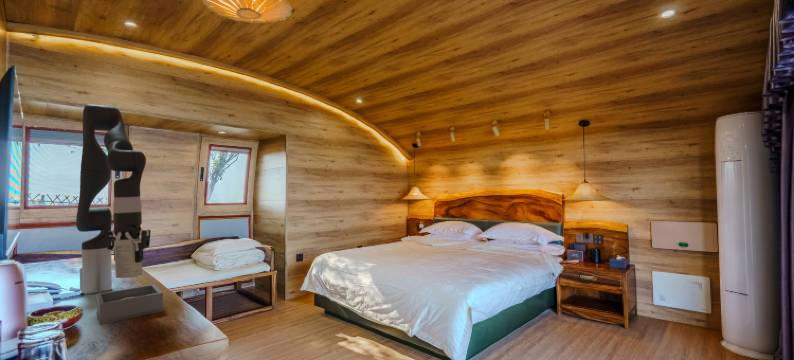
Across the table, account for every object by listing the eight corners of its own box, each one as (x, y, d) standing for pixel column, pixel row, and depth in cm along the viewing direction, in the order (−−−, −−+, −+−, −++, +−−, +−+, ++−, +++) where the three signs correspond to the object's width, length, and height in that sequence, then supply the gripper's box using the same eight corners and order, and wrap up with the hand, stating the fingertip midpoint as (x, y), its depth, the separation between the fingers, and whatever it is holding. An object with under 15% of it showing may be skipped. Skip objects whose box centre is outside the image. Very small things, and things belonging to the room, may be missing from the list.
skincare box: (143, 274, 124) (142, 237, 124) (132, 278, 120) (132, 239, 120) (125, 275, 125) (124, 238, 125) (114, 278, 120) (113, 240, 121)
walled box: (99, 324, 111) (99, 304, 111) (97, 312, 123) (96, 293, 123) (162, 311, 121) (162, 292, 121) (154, 301, 133) (154, 284, 133)
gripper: (156, 209, 126) (157, 259, 126) (116, 211, 127) (117, 260, 127) (139, 211, 118) (141, 264, 118) (97, 212, 119) (97, 265, 119)
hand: (128, 262), depth 122 cm, fingers closed on skincare box, 6 cm apart
